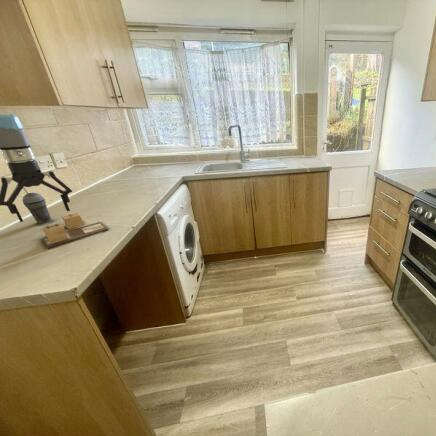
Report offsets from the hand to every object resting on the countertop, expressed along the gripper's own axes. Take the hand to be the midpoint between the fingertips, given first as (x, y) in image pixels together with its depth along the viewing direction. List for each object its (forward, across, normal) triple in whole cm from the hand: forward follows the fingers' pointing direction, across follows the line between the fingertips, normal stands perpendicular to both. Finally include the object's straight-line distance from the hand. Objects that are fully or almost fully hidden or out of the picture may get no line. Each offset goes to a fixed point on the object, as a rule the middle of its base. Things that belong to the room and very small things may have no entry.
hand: (46, 215), depth 96 cm
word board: (+12, +6, 0) cm, 13 cm away
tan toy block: (+10, 0, -1) cm, 10 cm away
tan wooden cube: (+12, +8, +13) cm, 19 cm away
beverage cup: (+12, 0, +28) cm, 30 cm away
